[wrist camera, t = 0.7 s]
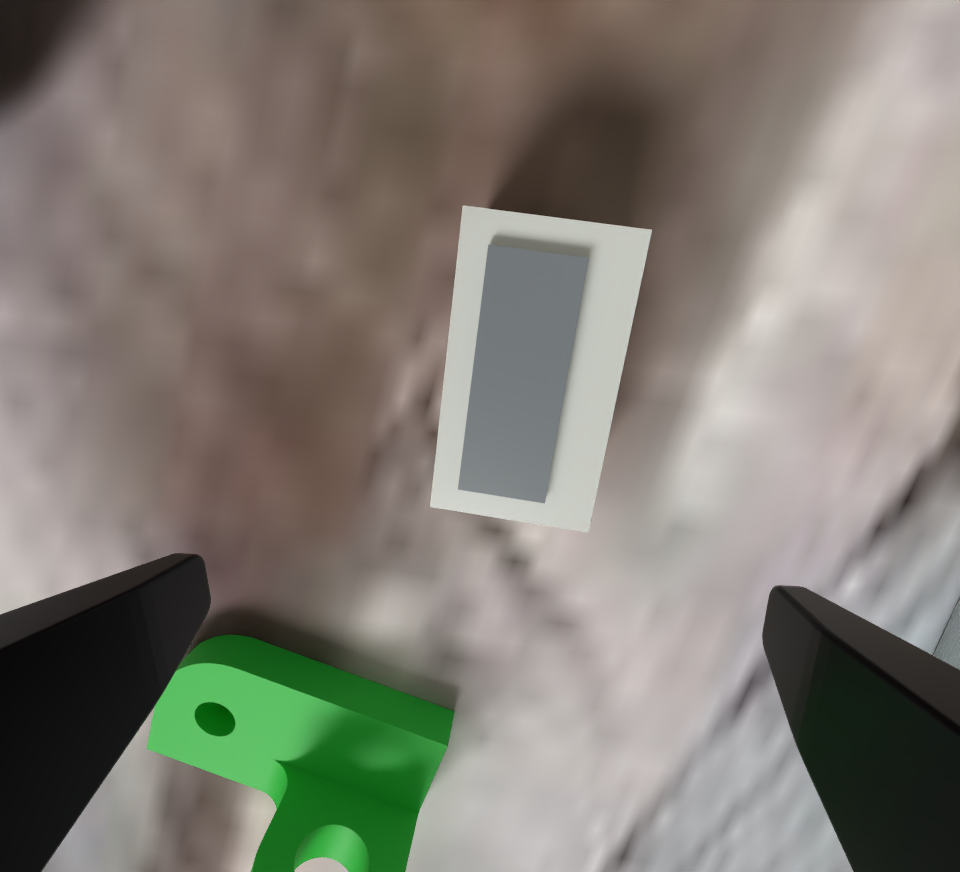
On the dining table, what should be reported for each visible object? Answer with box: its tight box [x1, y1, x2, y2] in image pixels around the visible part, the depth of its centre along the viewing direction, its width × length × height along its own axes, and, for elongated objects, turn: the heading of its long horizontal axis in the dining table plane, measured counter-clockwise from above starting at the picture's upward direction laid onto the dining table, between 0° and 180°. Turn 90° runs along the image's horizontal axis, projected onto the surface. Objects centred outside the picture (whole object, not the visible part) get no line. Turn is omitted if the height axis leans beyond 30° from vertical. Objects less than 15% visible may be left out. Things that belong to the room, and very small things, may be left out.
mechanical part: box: [147, 635, 454, 872], centre depth 22 cm, size 12×6×8 cm, turn 71°
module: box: [430, 206, 652, 533], centre depth 17 cm, size 5×8×5 cm, turn 173°
